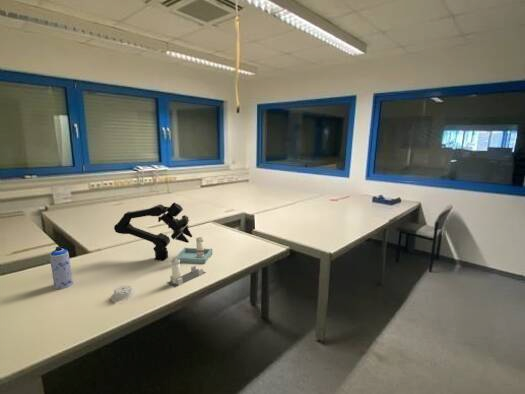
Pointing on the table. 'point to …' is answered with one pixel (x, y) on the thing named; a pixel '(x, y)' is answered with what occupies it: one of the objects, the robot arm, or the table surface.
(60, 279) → the aerosol can
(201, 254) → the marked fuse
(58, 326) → the table surface
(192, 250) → the tray
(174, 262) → the fuse
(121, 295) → the mechanical component
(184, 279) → the fuse holder
